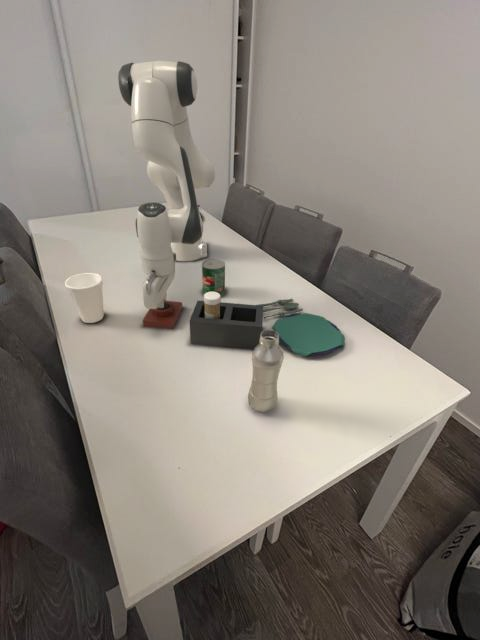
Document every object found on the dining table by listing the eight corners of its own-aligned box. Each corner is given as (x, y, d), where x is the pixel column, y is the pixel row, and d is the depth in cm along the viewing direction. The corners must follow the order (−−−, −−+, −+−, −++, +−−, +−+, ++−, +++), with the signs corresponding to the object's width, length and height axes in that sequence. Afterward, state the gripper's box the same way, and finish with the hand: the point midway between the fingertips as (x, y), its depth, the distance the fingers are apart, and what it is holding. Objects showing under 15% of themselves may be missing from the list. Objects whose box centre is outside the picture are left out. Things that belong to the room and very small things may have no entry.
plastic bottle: (245, 394, 80) (250, 325, 68) (274, 393, 80) (283, 325, 69) (248, 416, 74) (254, 345, 63) (278, 415, 75) (289, 344, 64)
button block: (155, 305, 111) (154, 295, 108) (182, 307, 110) (181, 297, 108) (143, 326, 101) (141, 315, 98) (173, 329, 100) (172, 317, 98)
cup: (116, 313, 106) (109, 276, 98) (95, 330, 98) (86, 291, 91) (90, 306, 108) (81, 270, 101) (67, 323, 100) (56, 284, 93)
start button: (159, 306, 106) (158, 301, 105) (170, 307, 105) (169, 302, 104) (155, 312, 103) (155, 308, 102) (167, 313, 102) (166, 309, 101)
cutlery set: (295, 366, 88) (296, 360, 87) (248, 309, 111) (248, 303, 110) (355, 349, 95) (357, 343, 94) (299, 298, 118) (300, 293, 117)
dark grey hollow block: (198, 322, 103) (197, 300, 99) (261, 328, 102) (263, 305, 98) (190, 344, 94) (189, 320, 90) (260, 350, 93) (262, 327, 89)
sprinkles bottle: (223, 336, 98) (223, 296, 91) (209, 341, 96) (208, 300, 88) (215, 328, 101) (215, 289, 94) (202, 332, 99) (200, 293, 92)
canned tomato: (228, 289, 121) (229, 261, 115) (218, 299, 115) (218, 270, 109) (209, 284, 124) (209, 257, 118) (198, 294, 118) (197, 265, 112)
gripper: (158, 281, 86) (162, 325, 94) (177, 251, 103) (180, 290, 111) (134, 279, 87) (140, 323, 94) (157, 249, 104) (161, 289, 111)
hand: (162, 305), depth 103 cm, fingers closed, pressing on start button
